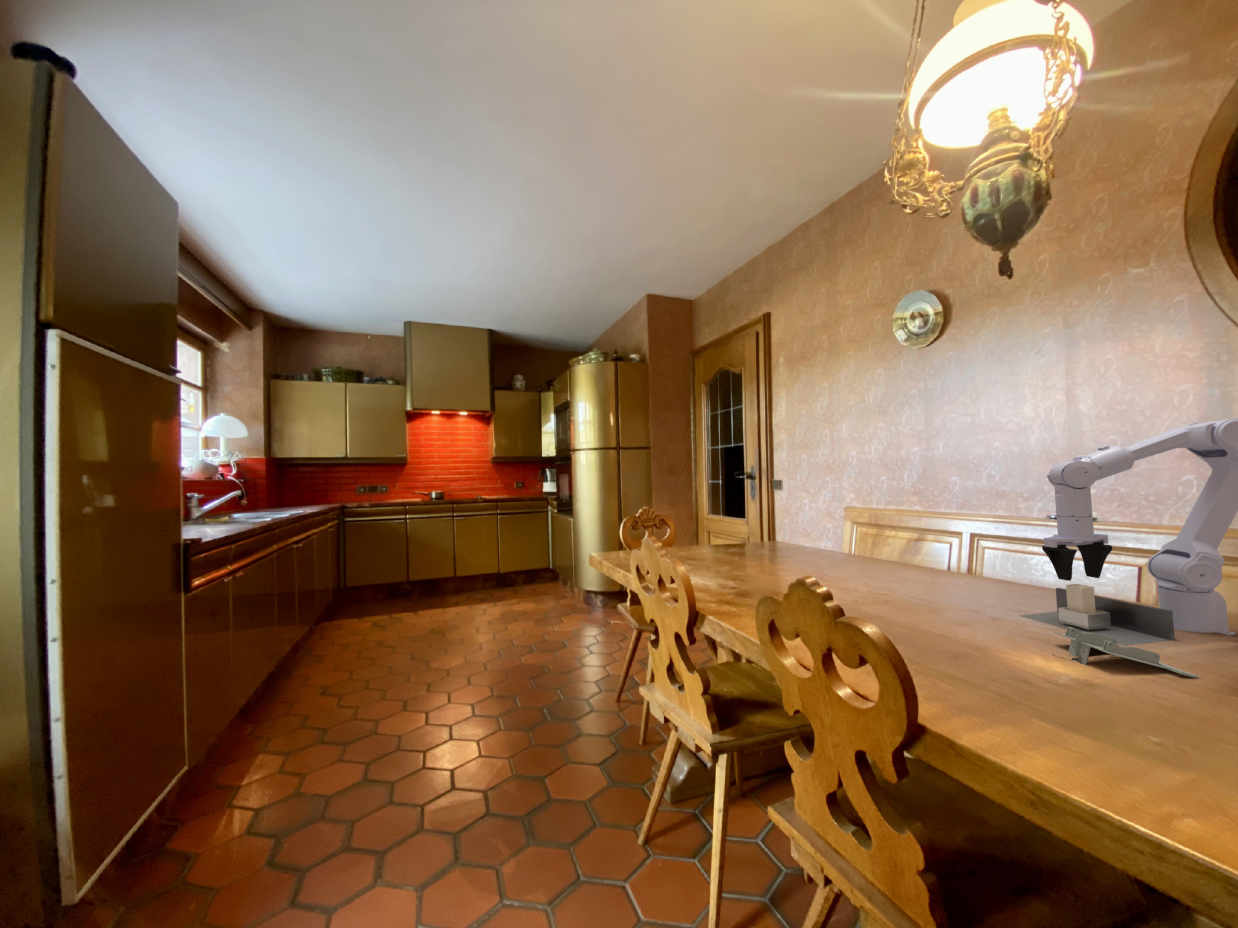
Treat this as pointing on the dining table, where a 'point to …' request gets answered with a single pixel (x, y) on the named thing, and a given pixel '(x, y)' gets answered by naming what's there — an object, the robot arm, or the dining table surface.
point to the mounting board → (1099, 630)
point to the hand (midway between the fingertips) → (1079, 578)
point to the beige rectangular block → (1080, 598)
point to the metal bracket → (1111, 649)
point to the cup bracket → (1118, 616)
